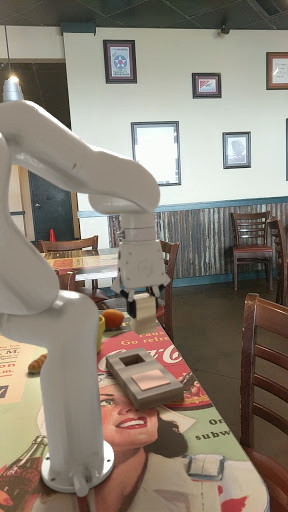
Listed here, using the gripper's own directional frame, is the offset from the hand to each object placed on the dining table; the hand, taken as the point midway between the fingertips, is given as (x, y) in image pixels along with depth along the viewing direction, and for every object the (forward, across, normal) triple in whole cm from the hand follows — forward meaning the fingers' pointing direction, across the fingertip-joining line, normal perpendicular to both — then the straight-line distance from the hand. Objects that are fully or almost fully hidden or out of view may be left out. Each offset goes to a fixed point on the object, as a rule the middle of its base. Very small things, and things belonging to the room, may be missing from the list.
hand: (142, 314), depth 86 cm
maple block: (+4, 0, 0) cm, 4 cm away
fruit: (+18, +7, +43) cm, 47 cm away
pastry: (+19, -19, +25) cm, 37 cm away
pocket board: (+19, +1, +5) cm, 20 cm away
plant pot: (+19, -6, +29) cm, 35 cm away
